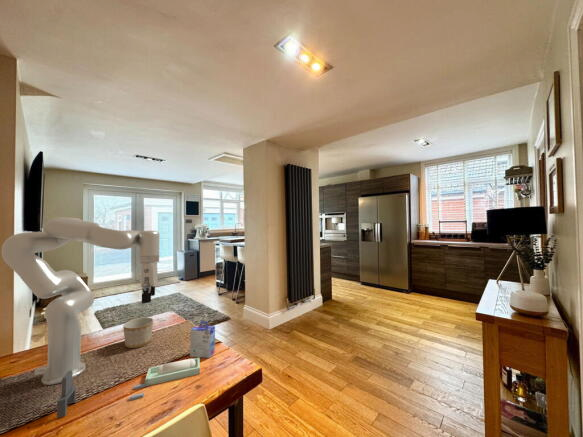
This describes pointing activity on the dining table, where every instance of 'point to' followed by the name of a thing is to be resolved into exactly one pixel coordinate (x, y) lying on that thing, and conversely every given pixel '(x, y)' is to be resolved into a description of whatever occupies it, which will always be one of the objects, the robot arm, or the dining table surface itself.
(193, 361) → the capsule
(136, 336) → the planter
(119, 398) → the dining table surface
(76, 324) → the robot arm
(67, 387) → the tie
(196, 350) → the ink cartridge box
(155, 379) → the tray
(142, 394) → the pair of grey bars
